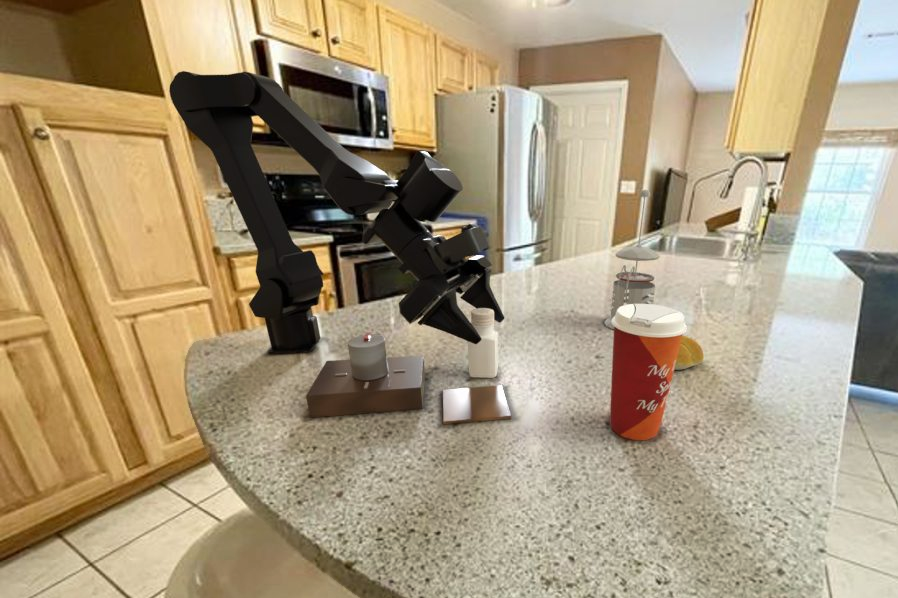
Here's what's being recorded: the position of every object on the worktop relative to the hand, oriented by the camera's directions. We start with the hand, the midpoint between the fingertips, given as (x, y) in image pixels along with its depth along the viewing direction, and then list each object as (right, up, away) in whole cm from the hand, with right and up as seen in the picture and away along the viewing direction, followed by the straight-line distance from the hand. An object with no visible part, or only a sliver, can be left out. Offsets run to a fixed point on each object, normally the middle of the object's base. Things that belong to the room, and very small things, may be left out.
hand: (491, 330), depth 59 cm
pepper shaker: (-1, -6, +3) cm, 7 cm away
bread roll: (+28, -5, +8) cm, 30 cm away
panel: (-15, -9, -3) cm, 18 cm away
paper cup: (+18, -12, -9) cm, 23 cm away
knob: (-15, -6, -5) cm, 17 cm away
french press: (+25, +2, +24) cm, 35 cm away
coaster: (-2, -10, -6) cm, 11 cm away
